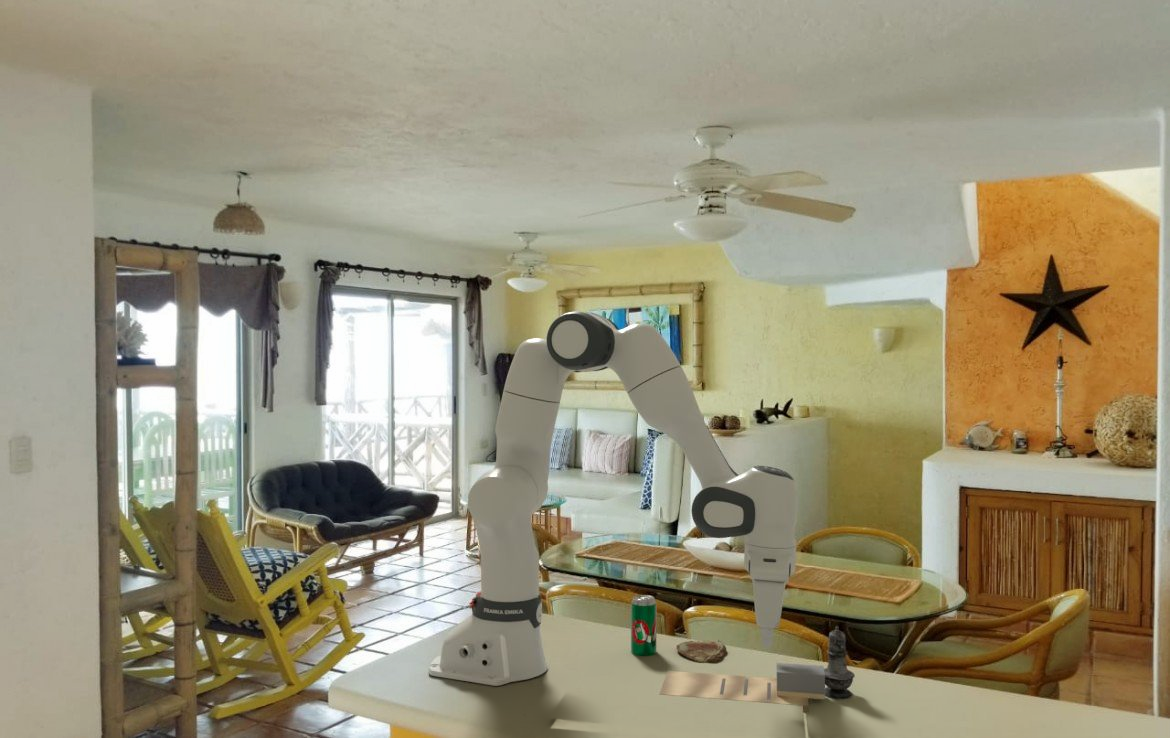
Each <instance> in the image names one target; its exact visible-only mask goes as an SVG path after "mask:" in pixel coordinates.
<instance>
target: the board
mask: <svg viewBox="0 0 1170 738" xmlns="http://www.w3.org/2000/svg"><path fill="white" fill-rule="evenodd" d="M662 683H663V684H662V686H661V688H660V691H659V695H663V696H664V695H665V696H678V697H689V698H690V697H691V698H701V699H713V700H728V701H729V700H730V701H741V702H742V701H743V702H753V703H754V702H756V703H766V704H778V705H779V704H781V705H792V706H802V712H803V713H804V714H805V713H808V714H809V711H810V708H809V706H810V704H809V698H802V697H789V696H777V678H774V677H773V678H771V677H760V676H759V677H758V676H746V675H743V676H742V675H732V674H731V675H730V674H717V673H705V672H704V673H703V672H690V671H689V672H688V671H676V670H667V671H666V675H665V677H664V680H663V682H662Z"/></svg>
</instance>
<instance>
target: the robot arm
mask: <svg viewBox="0 0 1170 738" xmlns="http://www.w3.org/2000/svg"><path fill="white" fill-rule="evenodd" d="M608 368H609V369H611V370H612V371H613V372H614V373H615V374H616V376H617V377H618V378H619V380H620V382H621V383H622V385H623V387H624V389H625V391H626V393H627V395H628V397H629V400H630V401H631V403H632V405H633V407H634V408H635V410H636V411H637V413H638V414H639V416H640V417H641V418H642V419H643V421H644V422H645V423H646V424H647V425H648V426H650V428H651V427H652V428H654V429H655V430H658V431H659V432H661V433H663V434H665V435H666V436H668V437H669V438H670V439H671V440H672V441H674V442H675V443H676V444H677V446H679V448H680V449H681V451H682V452H683V454H684V457H686V459H687V461H688V463H689V465H690V467H691V468H692V470H693V472H694V473H695V475H696V477H697V479H698V481H699V482H700V486H701V490H700V491H699V492H698V493H697V494H696V496H695V497H694V499H693V501H692V504H691V518H692V520H693V522H694V524H695V526H696V528H697V529H698V530H699V531H700V532H701V533H702V534H704V535H705V536H708V537H711V538H715V539H726V538H733V537H734V538H736V537H744V552H743V553H744V554H743V555H744V556H743V557H744V559H743V561H744V562H743V568H744V570H746V572H748V574H749V579H750V580H751V582H752V588H753V600H754V601H753V603H754V613H755V621H756V625H757V626H758V627H760V631H761V647H762V648H763V649H767V650H768V649H769V650H771V649H772V648H773V642H774V632H775V629H778V628H779V626H780V621H781V617H782V609H783V603H784V595H785V589H786V585H787V583H788V582H789V581H790V577H791V576H792V575H793V574H795V573H796V563H797V539H796V537H795V528H796V525H797V521H798V492H797V485H796V482H795V479H794V478H793V476H792V474H790V473H788V472H787V471H784V470H782V469H780V468H776V467H772V466H768V465H765V466H764V465H754V466H752V467H751V468H750V469H748V470H747V471H745V472H743V473H741V474H738V473H737V472H735V470H734V469H733V468H732V467H731V466H730V464H729V463H728V461H727V459H726V458H725V456H724V454H723V452H722V450H721V449H720V447H719V445H718V444H717V442H716V439H715V438H714V436H713V434H712V433H711V431H710V429H709V427H708V426H707V424H706V422H705V419H704V416H703V415H702V412H701V410H700V408H699V405H698V401H697V400H696V396H695V393H694V392H693V389H692V386H691V384H690V382H689V379H688V377H687V374H686V373H685V371H684V369H683V367H682V365H681V364H680V362H679V359H678V358H677V356H676V354H675V353H674V352H673V350H672V348H671V347H670V345H669V344H668V342H667V341H666V339H664V337H663V336H662V335H661V333H660V332H659V331H658V330H657V329H656V327H654V326H653V325H652V324H650V323H645V322H644V323H643V322H640V323H634V324H629V325H628V326H626V327H624V328H621V329H619V327H618V326H617V324H615V323H614V322H613V321H612V320H610V319H609V318H606V317H605V316H602V315H600V314H599V313H598V314H597V313H594V312H589V311H588V312H584V311H579V310H578V311H577V310H576V311H571V312H570V311H569V312H565V313H563V314H562V315H559V316H558V317H557V318H556V319H554V320H553V321H552V323H551V324H550V326H549V327H548V330H547V334H546V339H545V338H541V337H534V338H530V339H526V340H524V341H522V343H520V344H519V346H518V347H517V349H516V352H515V353H514V356H513V358H512V361H511V364H510V366H509V370H508V373H507V376H506V379H505V382H504V388H503V392H502V397H501V400H500V406H499V409H498V414H497V419H496V422H495V428H494V429H495V430H494V432H495V436H496V456H495V457H496V458H495V465H494V468H493V469H491V470H488V471H486V472H484V473H482V474H481V476H479V477H478V478H477V480H476V481H475V482H474V483H473V485H472V486H471V488H470V490H469V492H468V495H467V507H468V511H469V513H470V515H471V517H472V518H473V519H474V523H475V524H474V525H475V530H476V535H477V539H478V545H479V552H480V571H481V572H480V573H481V574H480V578H481V579H480V582H481V583H480V588H481V590H480V591H478V592H477V593H476V594H475V597H473V598H472V599H471V601H470V602H468V603H469V607H468V609H470V610H471V612H472V613H471V614H470V615H469V616H467V617H466V618H465V619H464V620H463V621H461V622H460V623H459V624H457V625H456V626H455V627H454V628H453V629H452V630H450V631H449V632H448V634H446V636H445V637H444V639H443V643H442V647H441V653H440V654H439V655H438V656H436V657H435V658H434V659H432V661H431V662H430V663H429V665H428V666H429V667H428V674H429V675H430V676H433V677H439V678H443V679H450V680H457V681H461V682H462V681H465V682H469V683H470V682H471V683H477V684H482V685H488V686H492V687H493V686H495V687H497V686H502V685H503V686H504V685H505V684H509V683H512V682H520V681H524V680H525V681H526V680H529V679H533V678H535V677H538V676H541V675H543V674H544V673H545V672H546V671H547V670H548V669H549V668H548V662H547V660H546V656H545V652H544V648H543V646H544V645H543V639H542V631H541V624H542V618H543V604H542V594H541V593H540V564H539V563H540V555H539V551H538V549H537V546H536V543H535V542H536V541H535V537H534V531H533V527H532V525H533V524H532V516H533V515H534V514H535V513H536V512H538V511H539V510H540V509H541V508H542V506H543V505H544V503H545V500H546V498H547V497H548V496H547V495H548V492H549V491H548V490H549V482H548V481H549V473H550V463H551V449H552V448H551V446H552V442H553V441H552V440H553V435H554V433H555V432H554V431H555V426H556V422H557V417H558V413H559V409H560V405H561V400H562V395H563V389H564V386H565V383H566V381H567V379H568V377H570V375H571V374H573V373H591V372H599V371H603V370H606V369H608Z"/></svg>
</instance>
